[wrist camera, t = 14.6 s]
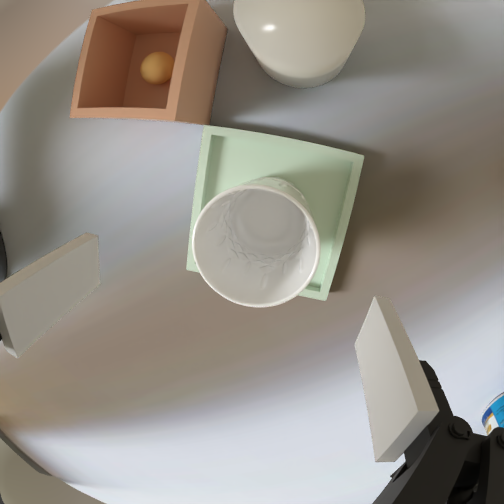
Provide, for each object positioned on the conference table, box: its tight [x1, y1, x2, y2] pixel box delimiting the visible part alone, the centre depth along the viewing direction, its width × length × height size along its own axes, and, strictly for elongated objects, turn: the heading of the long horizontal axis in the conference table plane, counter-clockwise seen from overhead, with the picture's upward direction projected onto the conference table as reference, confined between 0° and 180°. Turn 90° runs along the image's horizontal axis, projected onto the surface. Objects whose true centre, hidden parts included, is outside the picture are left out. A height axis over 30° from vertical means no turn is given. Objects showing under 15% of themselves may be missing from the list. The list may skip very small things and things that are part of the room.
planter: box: [70, 0, 228, 125], centre depth 21 cm, size 10×10×8 cm
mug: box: [233, 0, 365, 88], centre depth 18 cm, size 8×11×9 cm
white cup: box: [192, 177, 321, 307], centre depth 23 cm, size 8×8×10 cm
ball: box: [140, 52, 175, 84], centre depth 22 cm, size 3×3×3 cm
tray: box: [186, 125, 364, 301], centre depth 27 cm, size 14×14×2 cm
